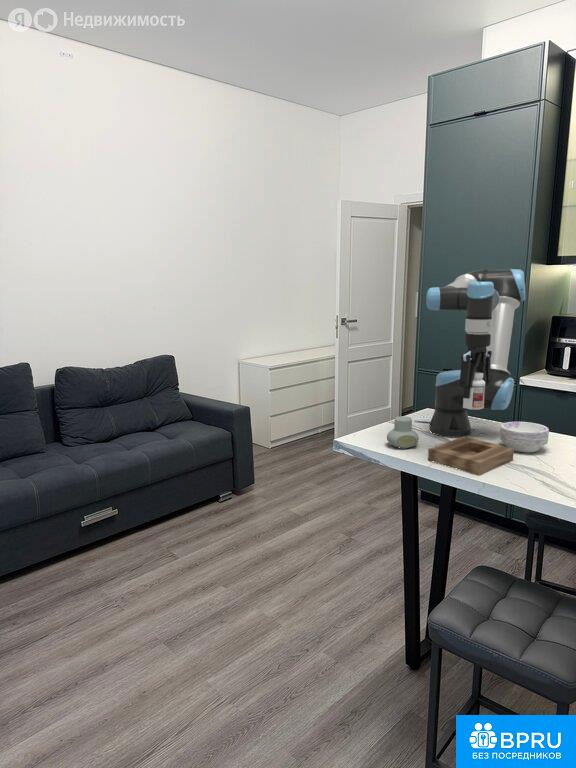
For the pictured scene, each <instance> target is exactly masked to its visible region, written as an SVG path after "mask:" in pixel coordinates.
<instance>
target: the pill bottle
mask: <svg viewBox="0 0 576 768" xmlns="http://www.w3.org/2000/svg"><path fill="white" fill-rule="evenodd" d="M482 378H483V373H480V372H477V371H475V374H474V379H473V383H472V387H471V388H473V402H472V409H471V410H473V411H475V410H477V411H478V410H482V409H485V408H484V400H485V381H484V380H482Z"/></svg>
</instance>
